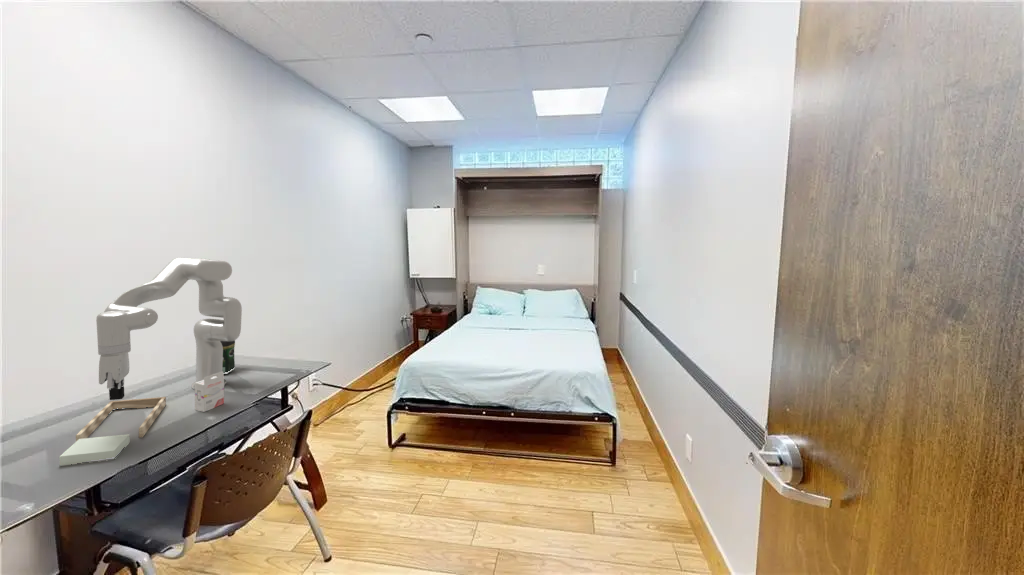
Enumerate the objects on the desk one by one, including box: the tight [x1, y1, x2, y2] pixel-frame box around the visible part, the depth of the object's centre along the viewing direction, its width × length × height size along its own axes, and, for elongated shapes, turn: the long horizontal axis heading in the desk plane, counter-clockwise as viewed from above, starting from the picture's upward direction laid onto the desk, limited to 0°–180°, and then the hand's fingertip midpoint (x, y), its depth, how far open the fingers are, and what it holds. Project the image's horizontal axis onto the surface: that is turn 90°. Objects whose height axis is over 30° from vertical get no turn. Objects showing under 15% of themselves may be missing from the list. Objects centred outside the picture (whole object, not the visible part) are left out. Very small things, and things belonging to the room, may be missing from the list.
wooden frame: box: [75, 396, 167, 442], centre depth 136 cm, size 26×16×4 cm, turn 30°
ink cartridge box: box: [194, 371, 225, 413], centre depth 153 cm, size 9×5×15 cm, turn 168°
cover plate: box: [58, 433, 131, 467], centre depth 118 cm, size 10×12×4 cm
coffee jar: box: [220, 340, 236, 373], centre depth 186 cm, size 10×8×19 cm
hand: (117, 398), depth 128 cm, fingers closed
